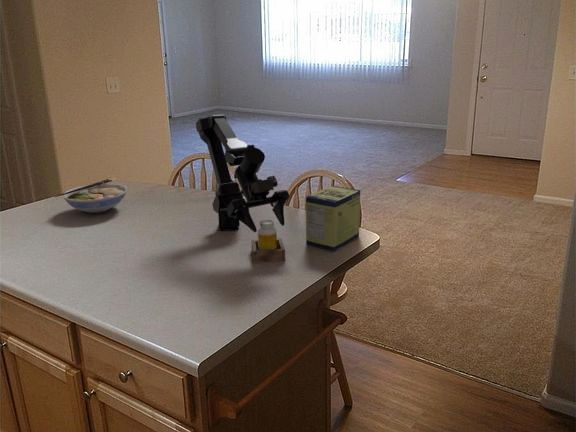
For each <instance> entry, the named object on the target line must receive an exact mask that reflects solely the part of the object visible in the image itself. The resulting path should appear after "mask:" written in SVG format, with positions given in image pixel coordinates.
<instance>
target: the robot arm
mask: <svg viewBox="0 0 576 432" xmlns="http://www.w3.org/2000/svg"><path fill="white" fill-rule="evenodd" d="M195 128H196V132H197V133H198V135H199V138H200V140H201V141H203V142H204V144H205V145H206V146H207V149H208V152H209V157H210V160H211V164H212V168H213V171H214V174H215V179H216V182H217V186H216V188H215V192H214V193H215V194H214V195H215V197H214V198H213V201H212V209H213V211H214V212H215V213H217V218H218V231H219V232H220V231H221V232H223V231H238V230H239V227H240V226H241V223H242V224H244V225H245V226H246V227H247V228H249V229H250V230H251V231H252V232H254V233H257V232H258V230H257V226H256V224H255V222H254V220H253V218H252V216H251V213H250V208H256V207H260V206H265V205H270V206H271V207H272V208H271V210H272V212H273V213H274V215H275V217H276V219H277V220H278V222H279V224H280V225H281V226H282V227H284V226H285V214H284V213H285V211H284V207H285V204H286V203H287V202H288V200H289V199H290V198H291V195H290V193H289V192H288V190H286V189H282V190H276V191H275V190H274V188H276V187H278V181H277V178H276V176H275V175H271V176H268V177H266V179H261V178H260V179H259V177H258V175H257V173H258V172H259V171H260V169H261V167H262V165H263V163H264V161H265V159H266V156H265V152H263V151H262V150H261V149H260V148H258V147H255V144H247V143H246V142H245V141H243V140H241V139H239V138H238V137H237V136H236V134H235V132H234V130H233V128H232V127H231V125H230V124H229V123H228V121H227V117H226V115H225V114H222V113H221V114H211V115H210V116H207V117H206V116H205V117H199V118H198V121H197V120H196V122H195ZM224 150H225V151H224ZM229 166H230V167H236V166H237V167H236V168H235V170H234V173H233V178H234V179H237V181H234V180H232V178H231V177H232V176H231V173H230V170H229ZM273 190H274V192H273V194H272V195H271V196H269V194H270V191H273ZM267 196H268V197H267ZM244 197H245V198H244ZM240 222H241V223H240Z"/></svg>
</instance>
